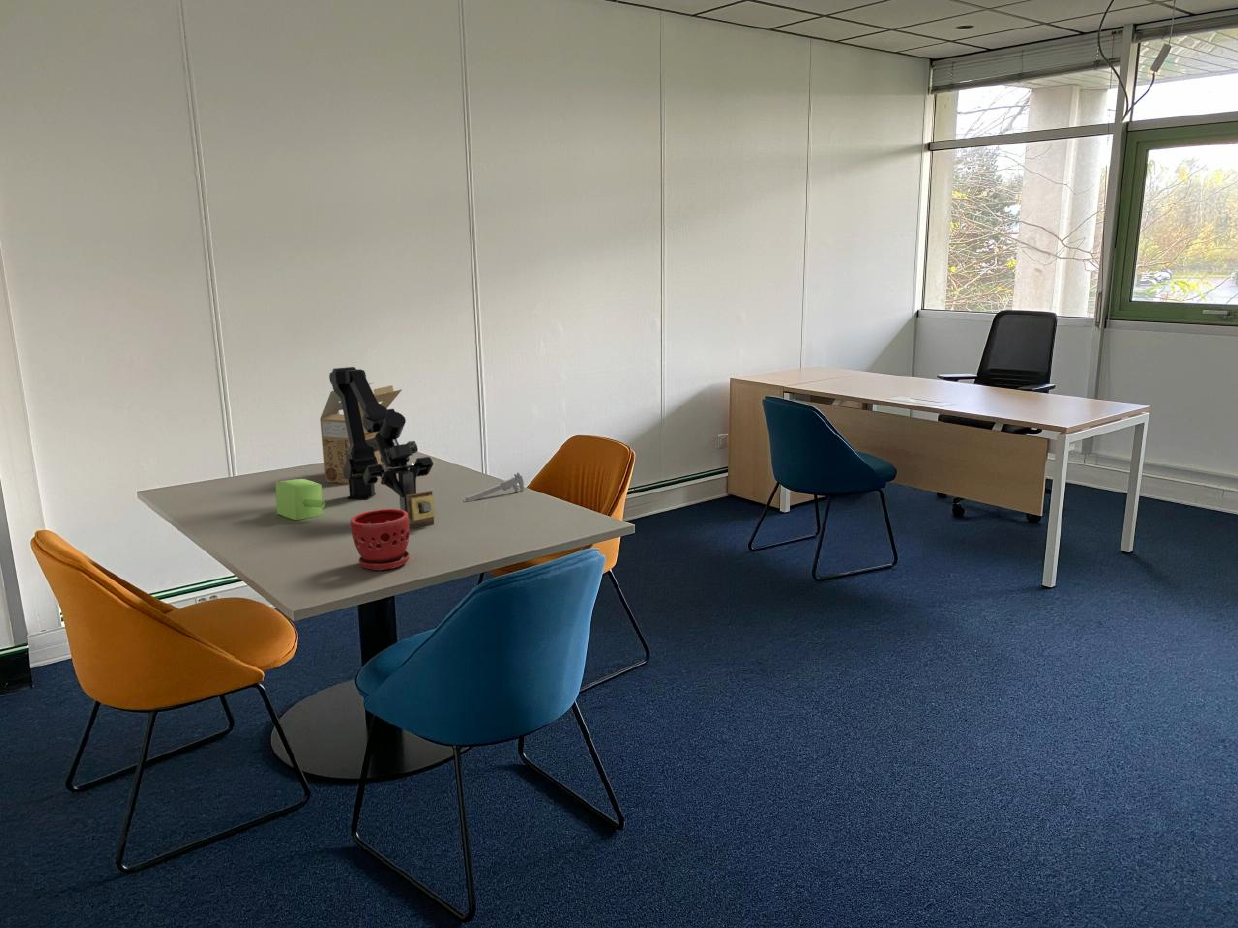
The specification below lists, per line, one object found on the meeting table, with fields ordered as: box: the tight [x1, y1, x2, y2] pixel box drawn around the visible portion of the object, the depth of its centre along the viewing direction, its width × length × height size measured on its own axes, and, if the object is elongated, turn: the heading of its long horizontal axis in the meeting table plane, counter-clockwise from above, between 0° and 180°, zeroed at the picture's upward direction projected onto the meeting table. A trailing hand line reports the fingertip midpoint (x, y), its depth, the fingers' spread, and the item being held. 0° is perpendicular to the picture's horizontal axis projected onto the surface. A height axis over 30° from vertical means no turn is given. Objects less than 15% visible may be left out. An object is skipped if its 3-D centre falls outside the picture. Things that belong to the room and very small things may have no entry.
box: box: [319, 382, 403, 485], centre depth 304 cm, size 21×20×30 cm
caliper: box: [462, 472, 525, 503], centre depth 279 cm, size 20×1×6 cm, turn 127°
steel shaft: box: [397, 471, 431, 512], centre depth 250 cm, size 14×3×13 cm, turn 37°
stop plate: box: [406, 490, 435, 530], centre depth 249 cm, size 4×7×9 cm, turn 127°
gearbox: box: [275, 478, 326, 521], centre depth 261 cm, size 18×10×10 cm, turn 48°
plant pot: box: [350, 508, 411, 571], centre depth 217 cm, size 13×13×12 cm
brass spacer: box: [411, 493, 436, 521], centre depth 247 cm, size 1×6×6 cm, turn 127°
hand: (409, 495), depth 253 cm, fingers closed on steel shaft, 3 cm apart
